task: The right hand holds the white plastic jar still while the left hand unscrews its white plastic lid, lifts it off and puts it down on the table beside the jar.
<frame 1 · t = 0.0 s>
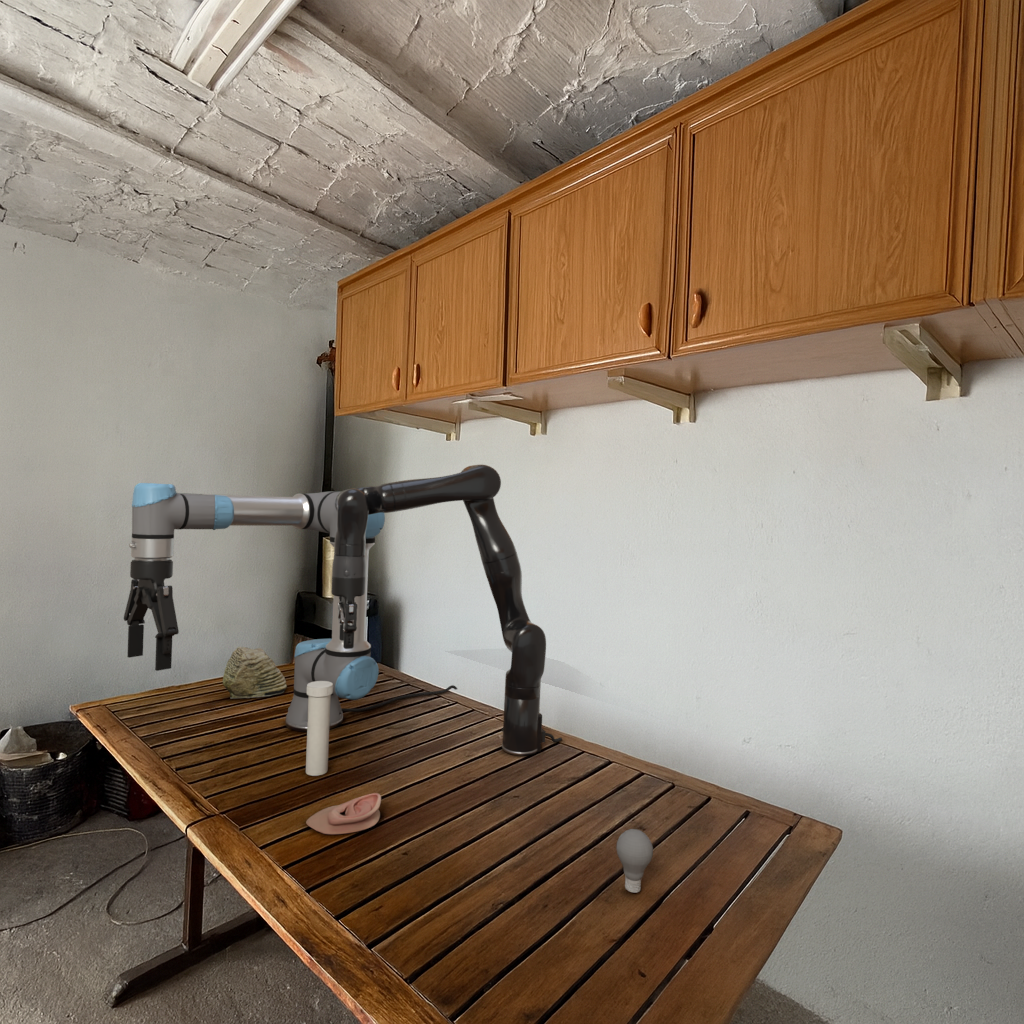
left hand: (148, 662, 129), 28 cm above the table, tool pointing down, fingers open, 13 cm apart
right hand: (346, 644, 147), 29 cm above the table, tool pointing down, fingers open, 8 cm apart
light bulb: (632, 891, 106), on the table
jar: (316, 771, 146), on the table
fossil: (254, 694, 198), on the table
lid: (319, 685, 146), point 20 cm above the table, screwed on, not yet turned
anatomical model: (344, 821, 124), on the table
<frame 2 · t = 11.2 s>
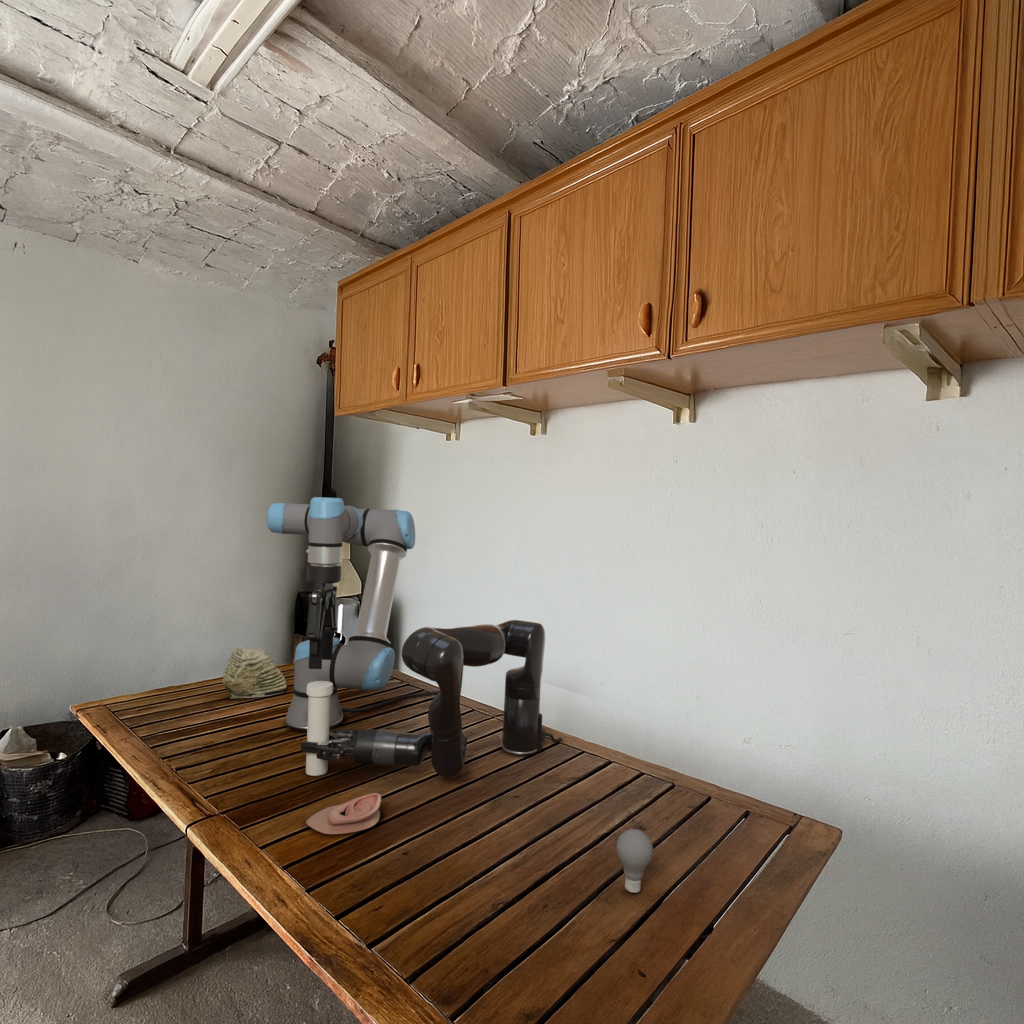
left hand: (320, 663, 145), 25 cm above the table, tool pointing down, fingers open, 7 cm apart
right hand: (306, 742, 146), 7 cm above the table, tool horizontal, fingers closed on jar, 5 cm apart
jar: (316, 771, 146), on the table, touching right hand
everything else where it was.
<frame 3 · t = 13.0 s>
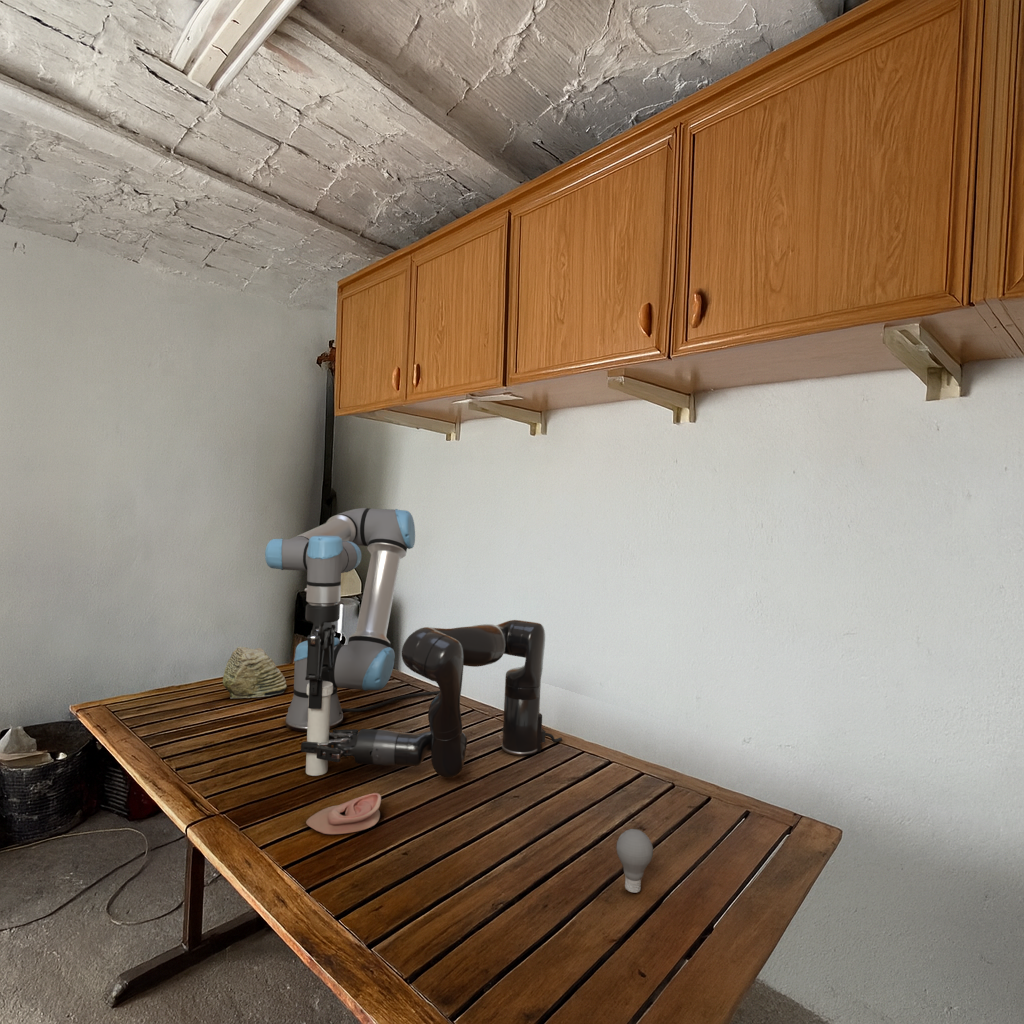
left hand: (319, 703, 146), 16 cm above the table, tool pointing down, fingers closed on lid, 6 cm apart
right hand: (306, 742, 146), 7 cm above the table, tool horizontal, fingers closed on jar, 5 cm apart
jar: (316, 771, 146), on the table, touching right hand
lid: (319, 685, 146), point 20 cm above the table, screwed on, not yet turned, touching left hand
everything else where it was.
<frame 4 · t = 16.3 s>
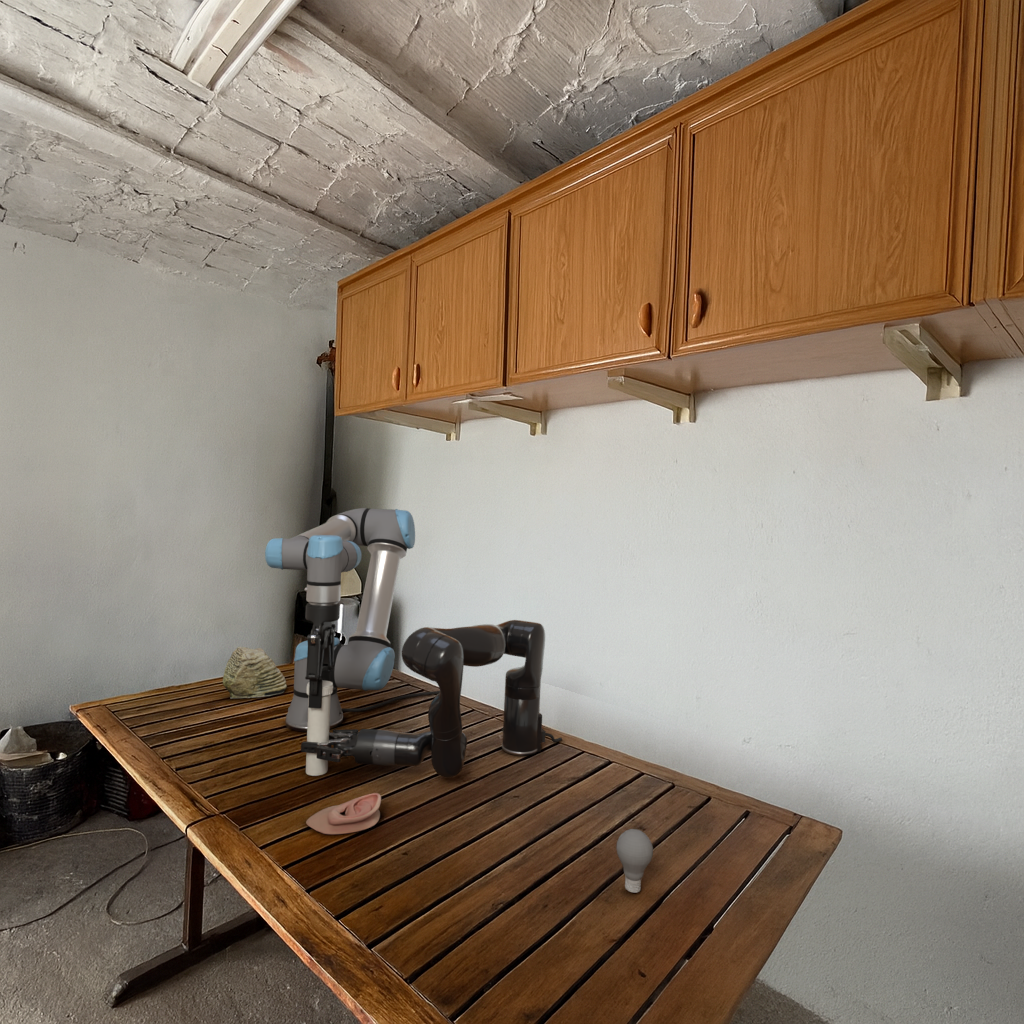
left hand: (319, 702, 146), 16 cm above the table, tool pointing down, fingers closed on lid, 6 cm apart
right hand: (306, 742, 146), 7 cm above the table, tool horizontal, fingers closed on jar, 5 cm apart
jar: (316, 771, 146), on the table, touching right hand
lid: (320, 685, 146), point 20 cm above the table, turned 95° so far, risen 0.1 cm, still on its thread, touching left hand
everything else where it was.
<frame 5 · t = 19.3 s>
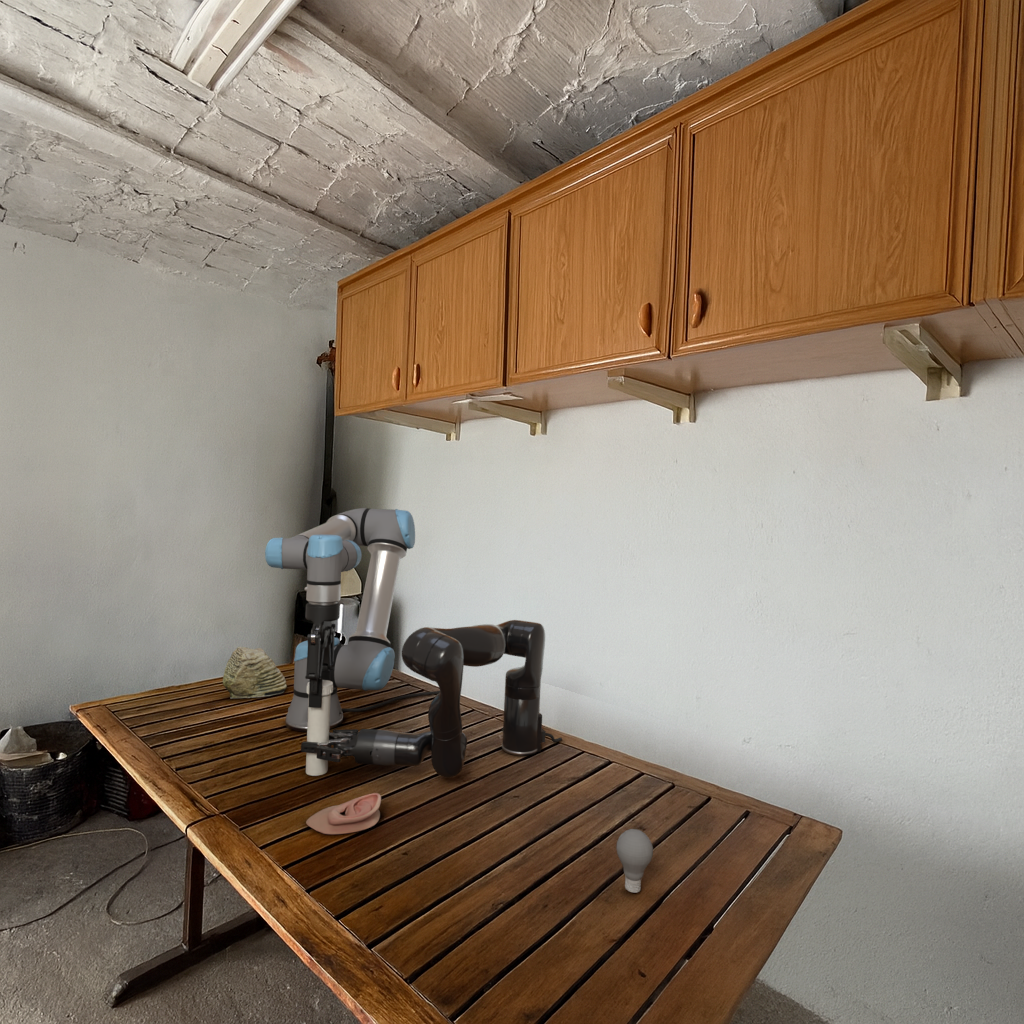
left hand: (319, 702, 146), 16 cm above the table, tool pointing down, fingers closed on lid, 6 cm apart
right hand: (306, 742, 146), 7 cm above the table, tool horizontal, fingers closed on jar, 5 cm apart
jar: (316, 771, 146), on the table, touching right hand
lid: (320, 684, 146), point 20 cm above the table, turned 189° so far, risen 0.2 cm, still on its thread, touching left hand
everything else where it was.
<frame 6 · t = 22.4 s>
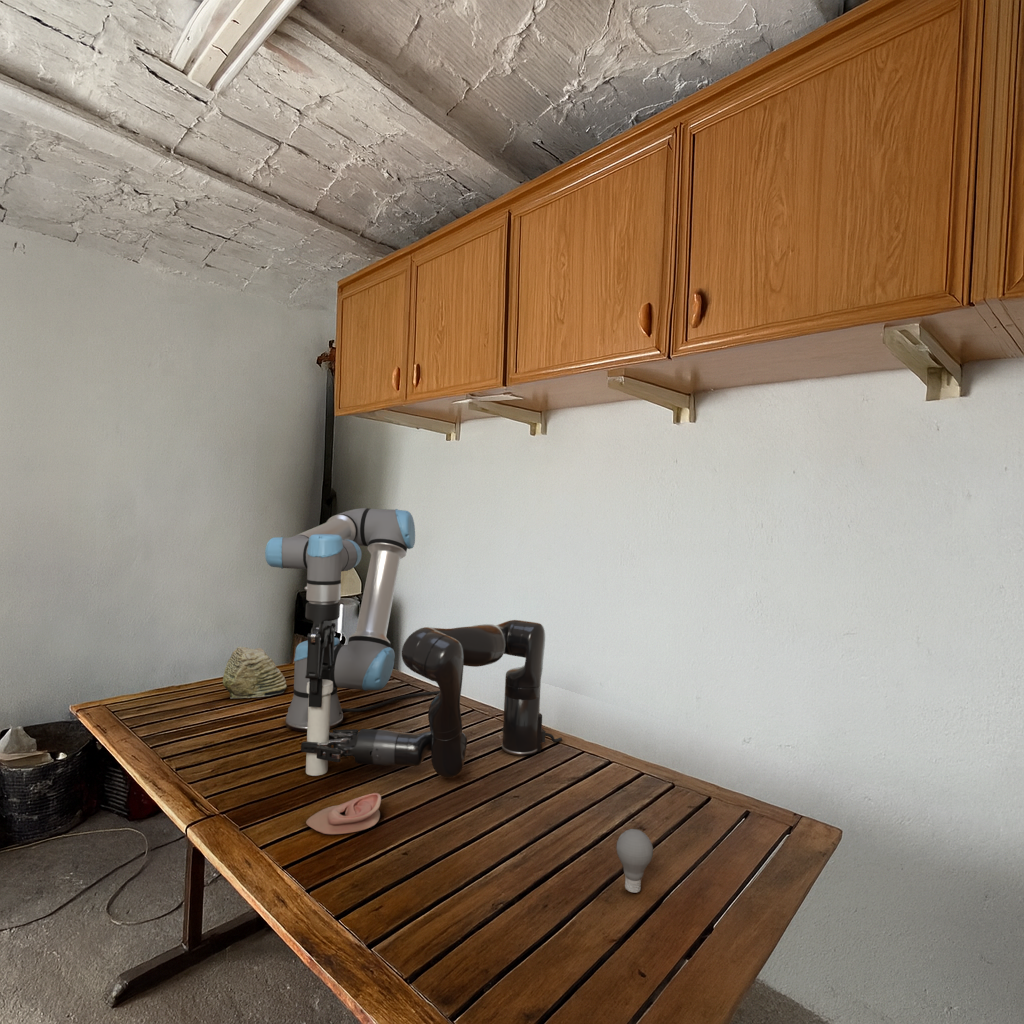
left hand: (319, 701, 146), 16 cm above the table, tool pointing down, fingers closed on lid, 6 cm apart
right hand: (306, 742, 146), 7 cm above the table, tool horizontal, fingers closed on jar, 5 cm apart
jar: (316, 771, 146), on the table, touching right hand
lid: (320, 684, 146), point 20 cm above the table, turned 284° so far, risen 0.4 cm, still on its thread, touching left hand
everything else where it was.
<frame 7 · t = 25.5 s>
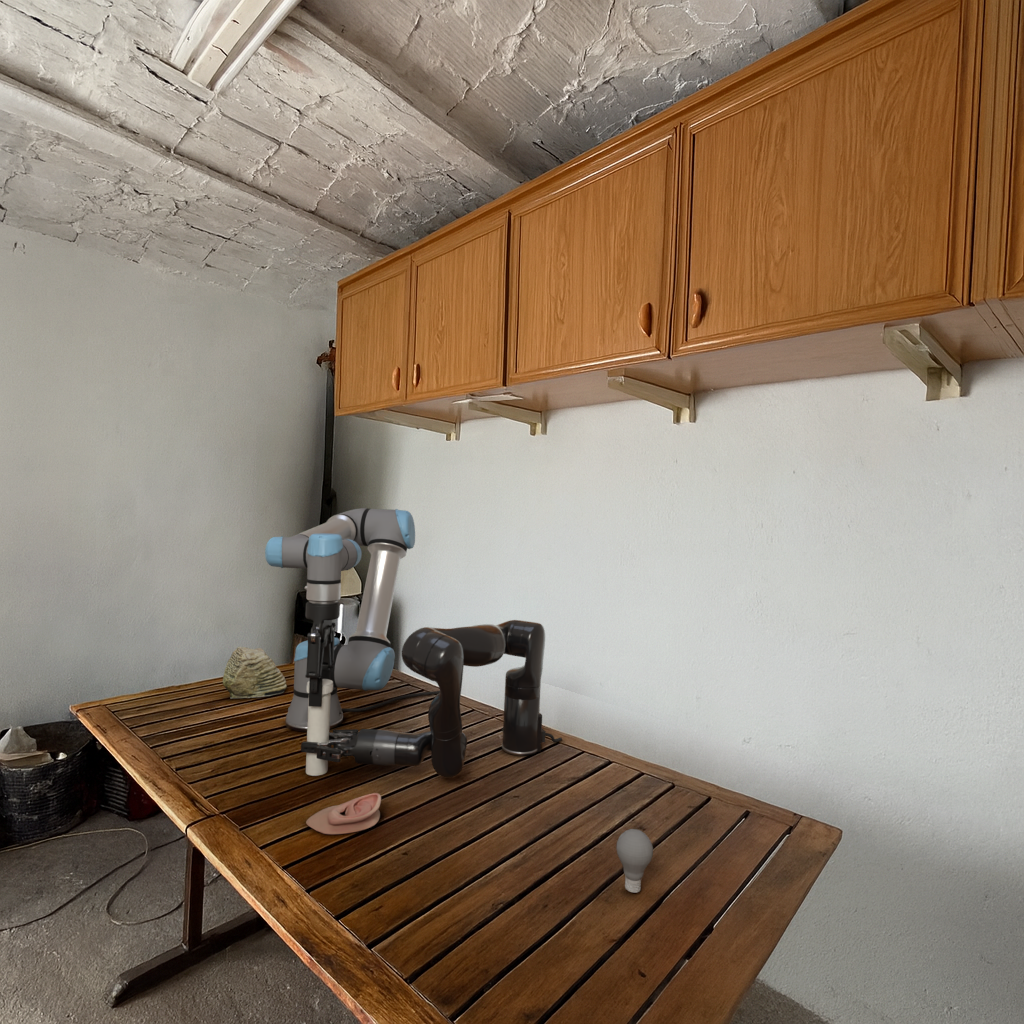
left hand: (319, 701, 146), 16 cm above the table, tool pointing down, fingers closed on lid, 6 cm apart
right hand: (306, 742, 146), 7 cm above the table, tool horizontal, fingers closed on jar, 5 cm apart
jar: (316, 771, 146), on the table, touching right hand
lid: (320, 683, 146), point 20 cm above the table, turned 379° so far, risen 0.5 cm, still on its thread, touching left hand
everything else where it was.
when the left hand's fingers open (0 cm above the table, at t = 32.6 s): lid drops 1 cm, point 2 cm above the table.
when the right hand's fingers open (7 cm above the table, at t = 33.3 s): jar stays where it is, on the table.
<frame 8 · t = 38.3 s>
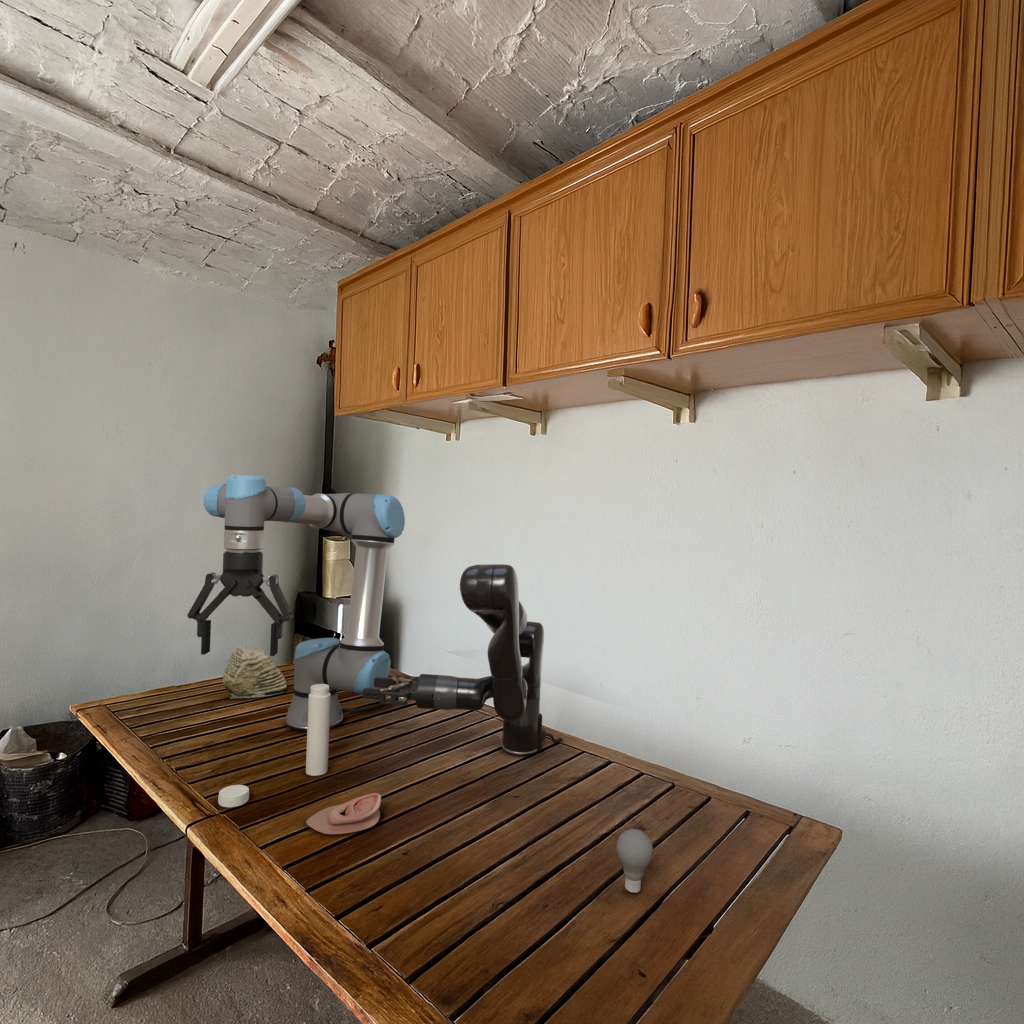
left hand: (239, 653, 130), 30 cm above the table, tool pointing down, fingers open, 13 cm apart
right hand: (368, 687, 145), 20 cm above the table, tool horizontal, fingers open, 8 cm apart
jar: (316, 771, 146), on the table
lid: (234, 792, 130), point 2 cm above the table, off its thread
everything else where it was.
at the end: lid came off its thread; lid point 1.7 cm above the table; the left hand is holding nothing; the right hand is holding nothing; jar tilted 0°; jar moved 0.0 cm from its start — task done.
